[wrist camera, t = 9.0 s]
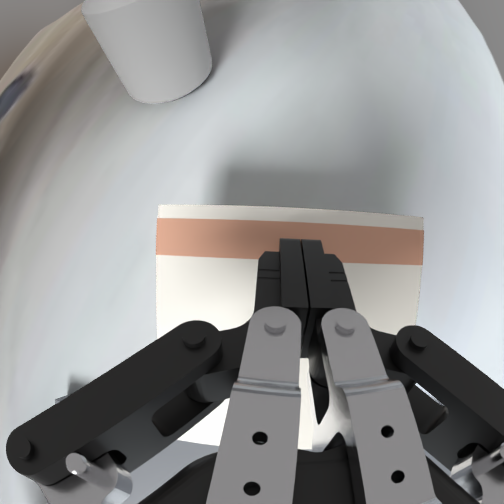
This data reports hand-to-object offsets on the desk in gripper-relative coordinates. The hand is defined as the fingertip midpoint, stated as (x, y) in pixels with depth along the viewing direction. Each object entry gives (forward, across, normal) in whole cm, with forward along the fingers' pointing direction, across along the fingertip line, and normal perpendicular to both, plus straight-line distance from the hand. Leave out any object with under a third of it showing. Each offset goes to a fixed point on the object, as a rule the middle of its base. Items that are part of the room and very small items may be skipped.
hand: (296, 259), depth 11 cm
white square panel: (-4, 0, +10) cm, 11 cm away
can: (+16, +10, -7) cm, 20 cm away
